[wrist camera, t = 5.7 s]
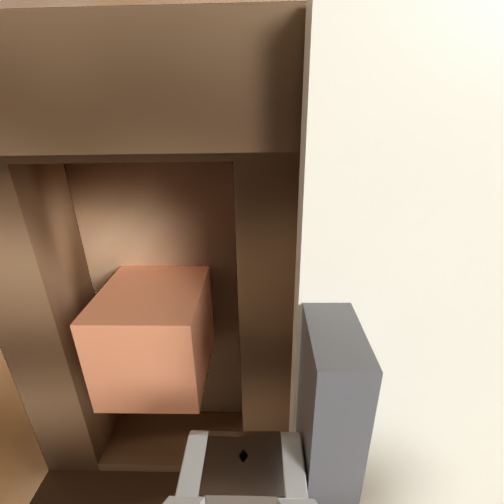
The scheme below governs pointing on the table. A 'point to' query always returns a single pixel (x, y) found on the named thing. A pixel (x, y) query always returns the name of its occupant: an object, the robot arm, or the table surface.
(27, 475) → the table surface
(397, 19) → the lid
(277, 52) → the wooden box
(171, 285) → the block
